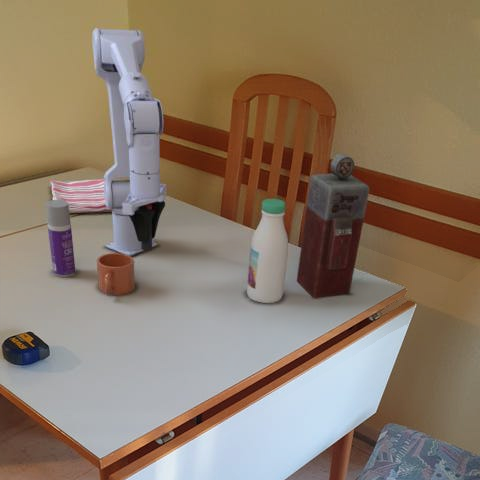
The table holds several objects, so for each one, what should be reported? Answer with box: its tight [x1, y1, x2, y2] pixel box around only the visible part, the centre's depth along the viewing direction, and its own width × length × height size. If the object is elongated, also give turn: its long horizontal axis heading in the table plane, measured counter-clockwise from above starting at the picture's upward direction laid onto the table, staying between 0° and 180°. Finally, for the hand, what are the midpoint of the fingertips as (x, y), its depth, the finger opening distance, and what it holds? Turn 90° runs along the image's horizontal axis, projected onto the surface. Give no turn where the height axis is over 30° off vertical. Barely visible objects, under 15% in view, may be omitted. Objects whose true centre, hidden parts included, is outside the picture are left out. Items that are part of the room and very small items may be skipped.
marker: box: [141, 204, 153, 252], centre depth 126 cm, size 2×2×9 cm
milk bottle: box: [246, 198, 289, 304], centre depth 128 cm, size 8×8×20 cm
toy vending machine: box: [296, 153, 370, 299], centre depth 130 cm, size 9×11×28 cm
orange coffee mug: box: [96, 252, 136, 297], centre depth 129 cm, size 10×7×6 cm
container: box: [45, 199, 76, 278], centre depth 132 cm, size 5×5×15 cm
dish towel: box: [49, 178, 112, 214], centre depth 172 cm, size 17×23×4 cm
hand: (146, 239), depth 128 cm, fingers closed on marker, 2 cm apart
